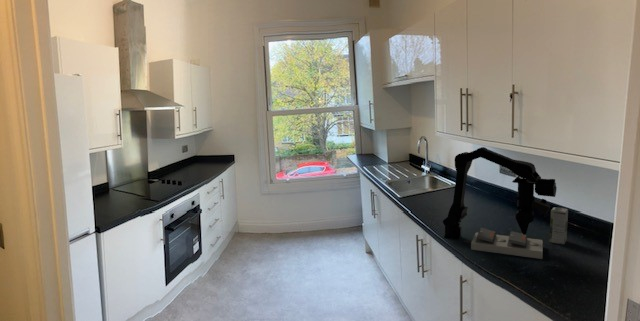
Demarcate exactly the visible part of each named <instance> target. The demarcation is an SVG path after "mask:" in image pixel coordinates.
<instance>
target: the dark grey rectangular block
mask: <svg viewBox="0 0 640 321" xmlns="http://www.w3.org/2000/svg"><path fill="white" fill-rule="evenodd" d="M477 233H478V235H477V238H479V239H483V240H486V241H489V242H492V241H493V238H494V235H496V234H495V233H496V231H494V230H492V229H487V228H485V227H480V229H479V231H478V232H477Z"/></svg>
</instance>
